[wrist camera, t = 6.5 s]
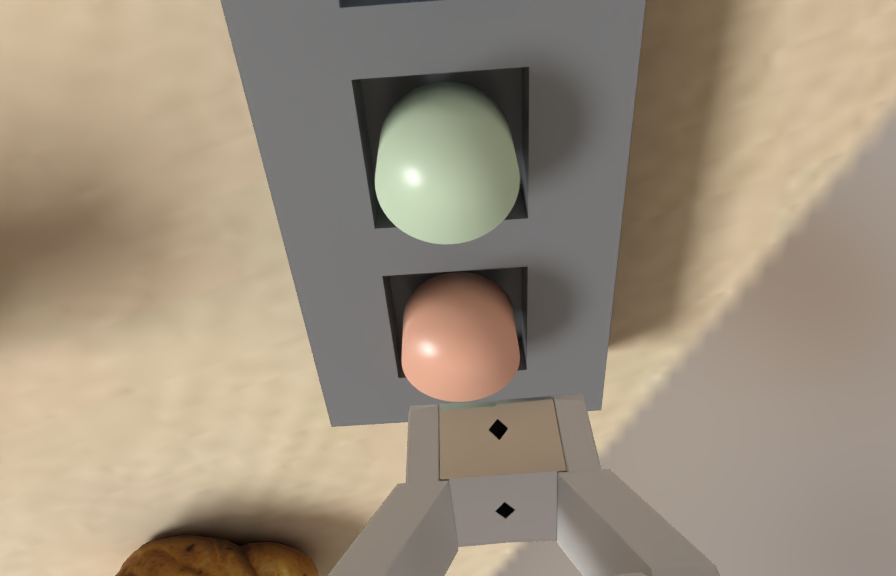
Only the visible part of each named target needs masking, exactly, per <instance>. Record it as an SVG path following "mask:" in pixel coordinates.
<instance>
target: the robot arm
mask: <svg viewBox="0 0 896 576" xmlns="http://www.w3.org/2000/svg"><path fill="white" fill-rule="evenodd" d="M532 541H557V544H558V545H559V546H560V547H561V548H562V550H563V551H564V552H565V554H566V555H567V556H568V557H569V559H570V560H571V561H572V562H573V564H574V565H575V566H576V568H577V569H578V570H579V571H580V573H581V574H582V575H583V576H720V575H719V572H718V570H717V567H716V565H714V564H713V563H712V562H711V561H710V560H709V559H708V558H707V557H706V556H705V555H703V554H702V553H701V552H700V551H699V550H698V549H697V548H696V547H695V546H693V544H691V543H690V542H689V541H688V540H687V539H686V538H685V537H684V536H682V534H680V533H679V532H678V531H677V530H676V529H675V528H674V527H673V526H672V525H671V524H670V523H668V522H667V521H666V520H665V519H664V518H663V517H662V516H661V515H660V514H658V513H657V512H656V511H655V510H654V509H653V508H652V507H651V506H650V505H649V504H648V503H646V502H645V501H644V500H643V499H642V498H641V497H640V496H639V495H638V494H637V493H636V492H634V491H633V490H632V489H631V488H630V487H629V486H628V485H627V484H626V483H625V482H624V481H623V480H621V479H620V478H619V477H618V476H617V475H616V474H615V473H614V472H612V471H611V470H610V469H603V470H601V466H600V462H599V458H598V453H597V449H596V445H595V441H594V437H593V433H592V429H591V425H590V421H589V417H588V412H587V408H586V404H585V400H584V397H583V396H582V395H581V394H570V395H558V396H552V397H551V396H544V397H532V398H520V399H508V400H496V401H490V402H470V403H450V404H440V405H419V406H411V407H410V410H409V416H408V441H407V466H406V483H402V484H397V485H396V487H395V488H394V489H393V490H392V492H391V493H390V494H389V496H388V497H387V498H386V500H385V501H384V502H383V503H382V505H381V506H380V507H379V509H378V510H377V511H376V513H375V514H374V515H373V517H372V518H371V519H370V520H369V522H368V523H367V524H366V526H365V527H364V528H363V530H362V531H361V532H360V534H359V535H358V536H357V537H356V539H355V540H354V541H353V543H352V544H351V545H350V547H349V548H348V549H347V551H346V552H345V553H344V554H343V556H342V557H341V558H340V560H339V561H338V562H337V564H336V565H335V566H334V568H333V569H332V570H331V571H330V573H329V574H328V575H327V576H445V574H446V572H447V570H448V568H449V566H450V565H451V563H452V561H453V559H454V557H455V555H456V554H457V552H458V547H464V546H474V545H485V544H496V543H506V542H532Z"/></svg>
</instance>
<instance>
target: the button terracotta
mask: <svg viewBox="0 0 896 576" xmlns="http://www.w3.org/2000/svg"><path fill="white" fill-rule="evenodd" d="M519 363H520V352H519V346H518V339H517V333H516V326H515V319H514V313H513V307H512V303H511V300H510V298H509V296H508V295H507V293H506V292H505V291H504V289H503V288H502V287H501V286H499V285H498V284H497V283H496V282H494V281H492V280H491V279H489V278H486V277H484V276H481V275H478V274H473V273H466V272H453V273H446V274H442V275H438V276H436V277H433V278H431V279H429V280H427V281H425V282H424V283H422V284H421V285H419V286H418V287H417V288H416V289H415V290H414V291H413V292H412V293H411V295H410V296H409V298H408V299H407V302H406V304H405V307H404V314H403V337H402V368H403V371H404V374H405V376H406V378H407V379H408V381H409V382H410V383H411V384H412V385H413V386H414V387H415V388H416V389H418V390H419V391H421V392H422V393H424V394H426V395H428V396H430V397H433V398H436V399H440V400H444V401H451V402H466V401H473V400H478V399H482V398H485V397H488V396H490V395H492V394H494V393H496V392H498V391H499V390H501V389H502V388H504V387H505V386H506V385H507V384H508V383H509V382H510V381H511V380H512V379H513V377H514V376H515V374H516V372H517V370H518V367H519Z"/></svg>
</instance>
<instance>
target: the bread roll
mask: <svg viewBox="0 0 896 576" xmlns="http://www.w3.org/2000/svg"><path fill="white" fill-rule="evenodd" d="M115 576H318V572H317V569H316V567H315V564H314V562H313V561H312V559H310V558H309V557H308V556H306V555H305V554H304V553H302V552H301V551H299V550H297V549H294V548H291V547H288V546H285V545H282V544H279V543H274V542H260V543H256V542H254V543H249V544H244V545H241V546H237V545H235V544H233V543H231V542H229V541H227V540H224V539H215V538H209V537H202V536H194V535H179V536H174V537H171V538H165V539H160V540H156V541H152V542H148V543H146V544H144V545H142V546H141V547H140V548H139V549H138V550H136V551H135V552H134V553H132V554H131V556H130V557H129V558H128V559H127V560H126V561H125V562H124V563H123V565H122V567H121V569H120V571H119V572H118V573H117V574H116V575H115Z"/></svg>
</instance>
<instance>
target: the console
mask: <svg viewBox="0 0 896 576" xmlns="http://www.w3.org/2000/svg"><path fill="white" fill-rule="evenodd" d="M645 3H646V0H221V4H222V7H223V11H224V15H225V19H226V23H227V27H228V31H229V34H230V38H231V42H232V46H233V50H234V54H235V57H236V61H237V65H238V69H239V73H240V77H241V80H242V84H243V88H244V92H245V96H246V100H247V104H248V107H249V111H250V115H251V119H252V123H253V127H254V130H255V134H256V138H257V142H258V146H259V150H260V153H261V157H262V161H263V165H264V169H265V173H266V177H267V180H268V184H269V188H270V192H271V196H272V200H273V203H274V207H275V211H276V215H277V219H278V223H279V227H280V230H281V234H282V238H283V242H284V246H285V250H286V253H287V257H288V261H289V265H290V269H291V273H292V276H293V280H294V284H295V288H296V292H297V296H298V300H299V303H300V307H301V311H302V315H303V319H304V323H305V326H306V330H307V334H308V338H309V342H310V346H311V349H312V353H313V357H314V361H315V365H316V369H317V373H318V376H319V380H320V384H321V388H322V392H323V396H324V399H325V403H326V407H327V411H328V415H329V419H330V422H331V426H332V427H335V426H351V425H367V424H384V423H400V422H408V416H409V410H410V407H411V406H419V405H440V404H450V403H470V402H490V401H496V400H508V399H520V398H532V397H544V396H551V397H552V396H558V395H570V394H581V395H582V396H583V397H584V400H585V404H586V408H587V411H595V410H601V407H602V398H603V388H604V379H605V370H606V361H607V352H608V343H609V333H610V324H611V315H612V306H613V297H614V288H615V278H616V269H617V260H618V251H619V242H620V233H621V223H622V214H623V205H624V196H625V187H626V177H627V168H628V159H629V150H630V141H631V132H632V122H633V113H634V104H635V95H636V86H637V77H638V67H639V58H640V49H641V40H642V31H643V22H644V12H645ZM435 82H457V83H462V84H466V85H469V86H472V87H475V88H477V89H479V90H480V91H482V92H484V93H485V94H487V95H488V96H489V97H491V98H492V99H493V100H494V101H495V102H496V103H497V104H498V106H499V107H500V108H501V109H502V111H503V113H504V114H505V116H506V118H507V121H508V123H509V126H510V131H511V135H512V140H513V144H514V149H515V154H516V158H517V163H518V168H519V174H520V186H519V192H518V196H517V199H516V201H515V204H514V206H513V208H512V210H511V211H510V213H509V214H508V215H507V217H506V218H505V219H504V220H503V221H502V222H501V223H500V224H499V225H498V226H497V227H496V228H494V229H493V230H492V231H490V232H489V233H487V234H485V235H483V236H481V237H479V238H477V239H474V240H471V241H468V242H464V243H458V244H434V243H429V242H425V241H422V240H419V239H416V238H414V237H412V236H410V235H408V234H406V233H405V232H403V231H401V230H400V229H399V228H398V227H396V226H395V225H394V224H393V223H392V222H391V221H390V220H389V218H388V217H387V216H386V214H385V213H384V211H383V210H382V208H381V206H380V204H379V201H378V199H377V195H376V190H375V172H376V164H377V156H378V148H379V140H380V133H381V128H382V125H383V122H384V120H385V118H386V116H387V114H388V112H389V111H390V109H391V108H392V107H393V105H394V104H395V103H396V102H397V101H398V100H399V99H400V98H402V97H403V96H404V95H405V94H407V93H408V92H410V91H412V90H414V89H416V88H418V87H420V86H423V85H426V84H430V83H435ZM453 272H466V273H473V274H478V275H481V276H484V277H486V278H489V279H491V280H492V281H494V282H496V283H497V284H498V285H499V286H501V287H502V288H503V289H504V291H505V292H506V293H507V295H508V296H509V298H510V300H511V303H512V307H513V313H514V319H515V326H516V333H517V339H518V346H519V352H520V363H519V367H518V370H517V372H516V374H515V376H514V377H513V379H512V380H511V381H510V382H509V383H508V384H507V385H506V386H505V387H504V388H502V389H501V390H499V391H498V392H496V393H494V394H492V395H490V396H488V397H485V398H482V399H478V400H473V401H466V402H451V401H444V400H440V399H436V398H433V397H430V396H428V395H426V394H424V393H422V392H421V391H419V390H418V389H416V388H415V387H414V386H413V385H412V384H411V383H410V382H409V381H408V379H407V378H406V376H405V374H404V371H403V368H402V337H403V314H404V307H405V304H406V302H407V299H408V298H409V296H410V295H411V293H412V292H413V291H414V290H415V289H416V288H417V287H418V286H419V285H421V284H422V283H424V282H425V281H427V280H429V279H431V278H433V277H436V276H438V275H442V274H446V273H453Z"/></svg>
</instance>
